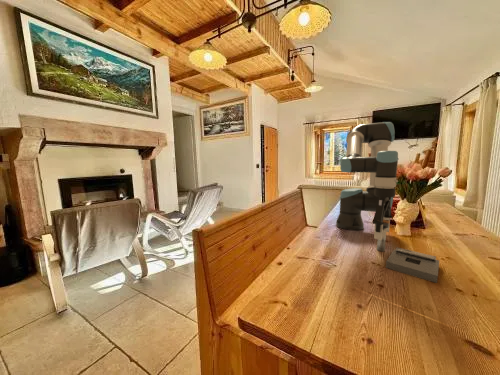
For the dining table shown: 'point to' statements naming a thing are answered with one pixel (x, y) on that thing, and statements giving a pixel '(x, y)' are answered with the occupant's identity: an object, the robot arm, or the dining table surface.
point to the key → (383, 236)
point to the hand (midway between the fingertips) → (381, 235)
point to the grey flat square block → (414, 264)
